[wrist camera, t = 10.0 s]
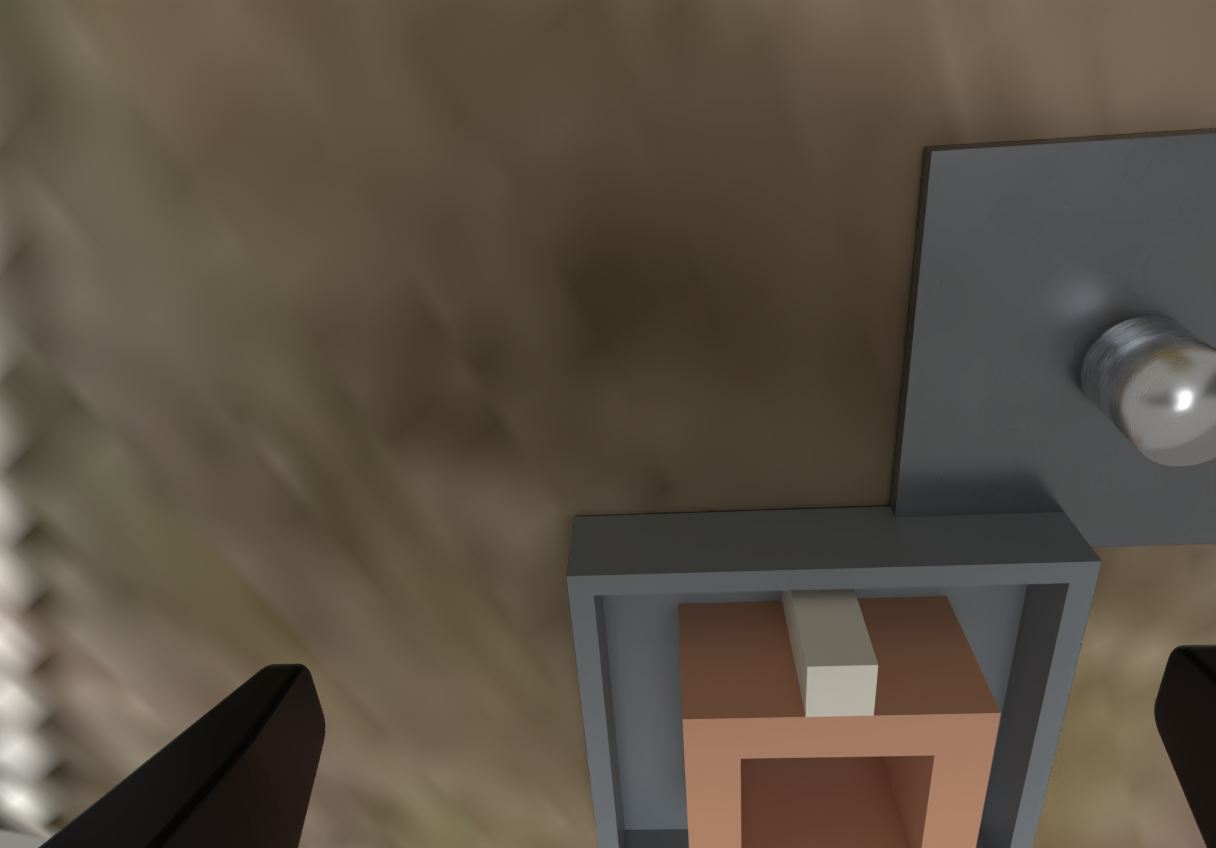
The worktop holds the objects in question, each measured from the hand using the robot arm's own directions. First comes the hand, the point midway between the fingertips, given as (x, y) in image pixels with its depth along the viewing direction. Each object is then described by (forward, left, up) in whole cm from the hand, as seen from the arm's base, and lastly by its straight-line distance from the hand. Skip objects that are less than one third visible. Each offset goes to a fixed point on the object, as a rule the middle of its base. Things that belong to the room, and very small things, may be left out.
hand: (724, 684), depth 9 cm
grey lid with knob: (-10, +2, -12) cm, 16 cm away
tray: (-3, +12, -12) cm, 17 cm away
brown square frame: (-3, +12, -11) cm, 17 cm away
